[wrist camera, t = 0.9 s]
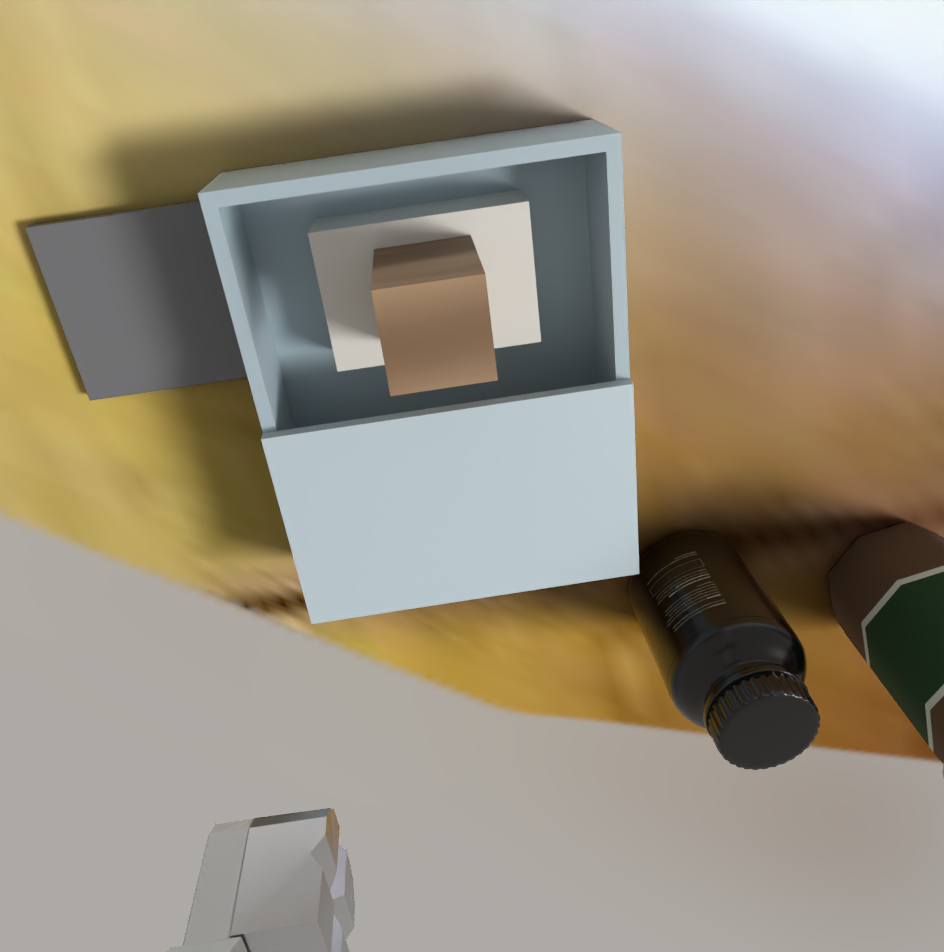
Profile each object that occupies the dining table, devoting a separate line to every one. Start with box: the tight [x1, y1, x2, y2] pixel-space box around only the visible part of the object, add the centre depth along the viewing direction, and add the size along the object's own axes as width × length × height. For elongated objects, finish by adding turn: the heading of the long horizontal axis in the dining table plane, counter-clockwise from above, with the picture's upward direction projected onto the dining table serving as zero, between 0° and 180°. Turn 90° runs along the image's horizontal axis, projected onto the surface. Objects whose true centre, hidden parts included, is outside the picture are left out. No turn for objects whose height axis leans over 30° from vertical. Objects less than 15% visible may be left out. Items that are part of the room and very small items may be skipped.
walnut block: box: [371, 235, 498, 396], centre depth 33 cm, size 4×4×6 cm
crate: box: [198, 119, 639, 624], centre depth 38 cm, size 20×16×6 cm
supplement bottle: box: [629, 532, 820, 770], centre depth 43 cm, size 7×7×12 cm
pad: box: [25, 201, 247, 400], centre depth 38 cm, size 8×8×1 cm
